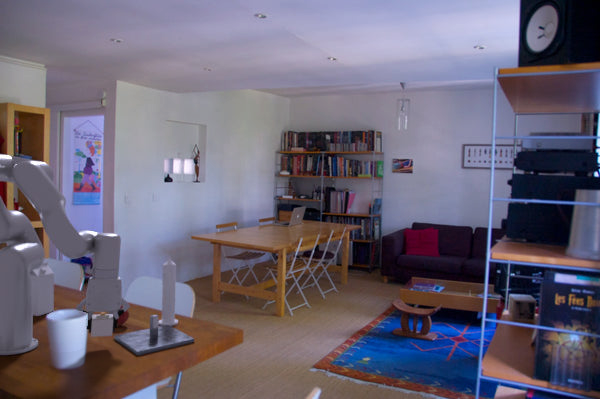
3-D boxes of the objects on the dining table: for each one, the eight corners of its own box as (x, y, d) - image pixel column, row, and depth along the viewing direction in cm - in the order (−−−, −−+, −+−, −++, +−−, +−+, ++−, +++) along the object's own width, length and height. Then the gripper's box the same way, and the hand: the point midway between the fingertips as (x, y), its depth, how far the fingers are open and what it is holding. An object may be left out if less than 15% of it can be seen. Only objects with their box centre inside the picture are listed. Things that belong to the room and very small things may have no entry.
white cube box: (90, 336, 142) (92, 318, 141) (91, 330, 147) (92, 312, 147) (112, 335, 144) (113, 317, 144) (112, 329, 149) (113, 312, 149)
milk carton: (23, 313, 177) (24, 263, 176) (40, 309, 184) (40, 261, 183) (37, 316, 174) (37, 265, 174) (53, 311, 181) (54, 262, 180)
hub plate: (137, 355, 140) (137, 328, 140) (114, 339, 154) (114, 314, 153) (194, 342, 153) (194, 317, 153) (168, 328, 166) (168, 305, 166)
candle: (182, 322, 174) (183, 255, 172) (169, 327, 167) (170, 257, 166) (167, 319, 177) (168, 253, 175) (153, 324, 170) (155, 255, 169)
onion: (122, 329, 163) (122, 306, 163) (107, 327, 165) (108, 305, 164) (131, 324, 169) (132, 302, 169) (117, 322, 170) (117, 301, 170)
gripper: (73, 276, 138) (70, 336, 139) (135, 276, 145) (131, 333, 145) (75, 270, 145) (71, 328, 146) (134, 270, 152) (130, 325, 152)
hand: (101, 330), depth 146 cm, fingers closed on white cube box, 6 cm apart
